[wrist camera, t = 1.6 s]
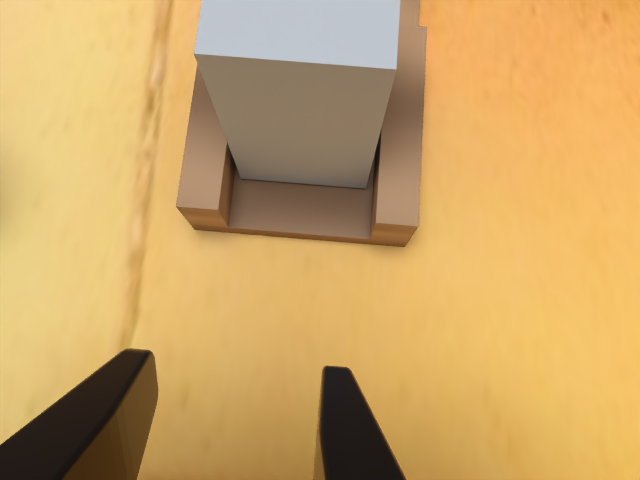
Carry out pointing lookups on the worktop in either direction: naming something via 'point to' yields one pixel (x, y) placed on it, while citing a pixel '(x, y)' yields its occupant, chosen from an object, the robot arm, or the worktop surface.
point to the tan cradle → (307, 199)
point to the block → (300, 84)
